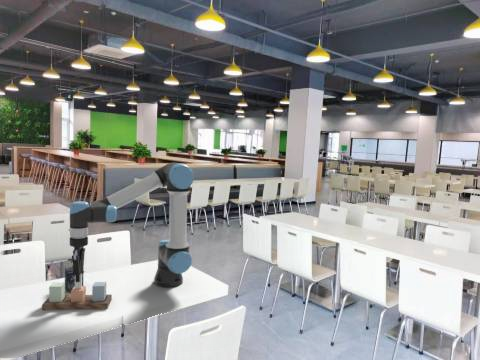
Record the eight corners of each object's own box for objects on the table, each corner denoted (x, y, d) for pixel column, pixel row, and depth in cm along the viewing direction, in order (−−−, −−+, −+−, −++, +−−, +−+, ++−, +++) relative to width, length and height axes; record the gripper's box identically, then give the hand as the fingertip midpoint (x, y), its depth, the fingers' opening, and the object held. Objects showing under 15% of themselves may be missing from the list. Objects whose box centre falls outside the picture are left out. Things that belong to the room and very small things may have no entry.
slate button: (106, 296, 172) (106, 282, 172) (103, 301, 167) (104, 286, 167) (94, 296, 172) (94, 282, 171) (92, 301, 167) (92, 286, 166)
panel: (111, 299, 175) (111, 294, 175) (107, 308, 166) (107, 303, 165) (50, 300, 171) (50, 295, 171) (42, 310, 161) (42, 304, 161)
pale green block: (64, 297, 170) (64, 282, 169) (61, 301, 165) (61, 286, 164) (53, 297, 169) (53, 282, 168) (49, 302, 164) (49, 286, 163)
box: (66, 292, 181) (66, 271, 181) (64, 288, 186) (64, 267, 185) (83, 289, 186) (83, 268, 185) (81, 285, 190) (81, 265, 190)
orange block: (85, 301, 171) (85, 286, 171) (82, 305, 166) (82, 290, 166) (74, 301, 170) (74, 286, 170) (70, 306, 165) (70, 290, 165)
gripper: (74, 232, 171) (73, 282, 173) (65, 240, 159) (64, 293, 161) (91, 233, 173) (90, 282, 175) (84, 240, 160) (83, 293, 162)
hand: (78, 287), depth 168 cm, fingers closed
